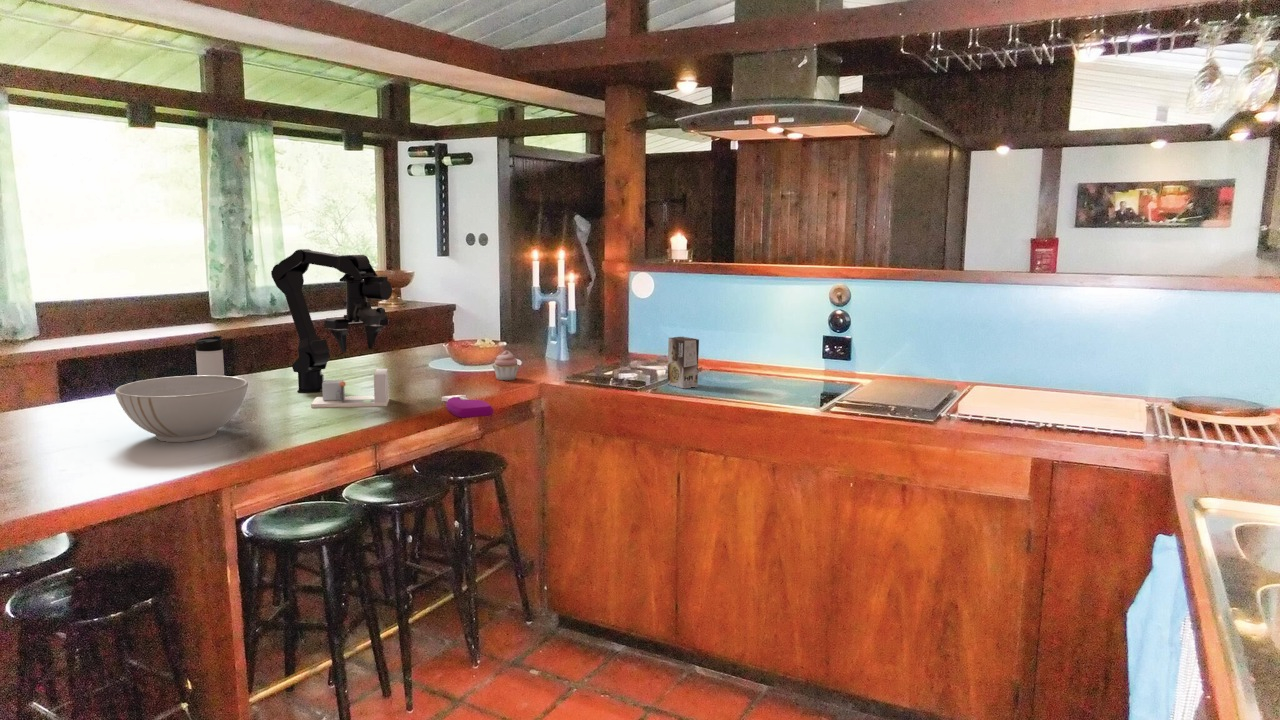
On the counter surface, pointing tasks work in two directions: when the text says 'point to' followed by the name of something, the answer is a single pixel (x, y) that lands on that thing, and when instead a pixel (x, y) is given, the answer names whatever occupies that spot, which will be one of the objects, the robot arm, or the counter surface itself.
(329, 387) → the block
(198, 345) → the travel mug
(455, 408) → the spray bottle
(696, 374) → the coffee box
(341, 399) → the drag needle
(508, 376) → the cupcake
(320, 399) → the base
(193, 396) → the decorative bowl
